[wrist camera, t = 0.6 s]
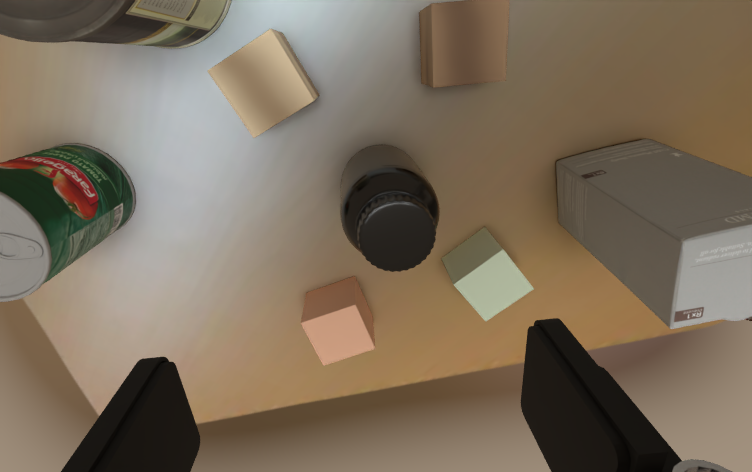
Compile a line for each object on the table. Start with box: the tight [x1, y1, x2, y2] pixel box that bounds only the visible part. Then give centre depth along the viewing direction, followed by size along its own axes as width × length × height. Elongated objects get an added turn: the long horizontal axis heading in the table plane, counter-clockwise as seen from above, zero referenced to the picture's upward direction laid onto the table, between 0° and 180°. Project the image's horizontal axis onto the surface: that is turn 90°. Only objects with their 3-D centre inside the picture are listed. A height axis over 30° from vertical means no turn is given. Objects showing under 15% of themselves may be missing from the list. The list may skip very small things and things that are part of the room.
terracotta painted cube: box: [301, 276, 375, 366], centre depth 38 cm, size 5×5×5 cm
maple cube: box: [208, 29, 319, 138], centre depth 29 cm, size 5×5×5 cm
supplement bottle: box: [341, 145, 439, 272], centre depth 30 cm, size 7×7×12 cm
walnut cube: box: [419, 0, 509, 87], centre depth 29 cm, size 5×5×5 cm
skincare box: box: [556, 139, 752, 329], centre depth 29 cm, size 8×7×16 cm
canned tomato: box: [0, 143, 135, 302], centre depth 29 cm, size 8×8×11 cm
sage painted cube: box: [441, 227, 534, 321], centre depth 37 cm, size 5×5×5 cm
